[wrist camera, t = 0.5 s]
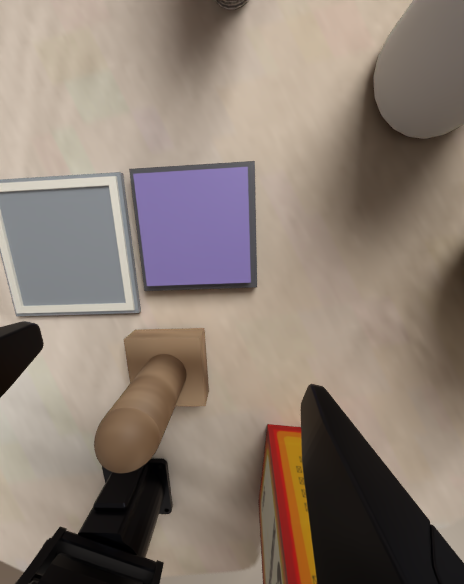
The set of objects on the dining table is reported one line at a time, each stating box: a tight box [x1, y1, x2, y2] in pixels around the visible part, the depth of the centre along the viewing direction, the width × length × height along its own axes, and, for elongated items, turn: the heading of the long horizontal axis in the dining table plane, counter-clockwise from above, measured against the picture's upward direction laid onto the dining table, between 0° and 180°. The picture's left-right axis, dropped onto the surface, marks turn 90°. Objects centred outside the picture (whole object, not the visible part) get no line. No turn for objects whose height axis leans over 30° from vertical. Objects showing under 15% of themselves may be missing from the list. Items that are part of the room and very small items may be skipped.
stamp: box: [94, 328, 209, 473], centre depth 16 cm, size 6×6×10 cm
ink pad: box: [129, 161, 257, 291], centre depth 18 cm, size 9×9×2 cm
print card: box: [0, 172, 141, 316], centre depth 19 cm, size 11×11×1 cm
